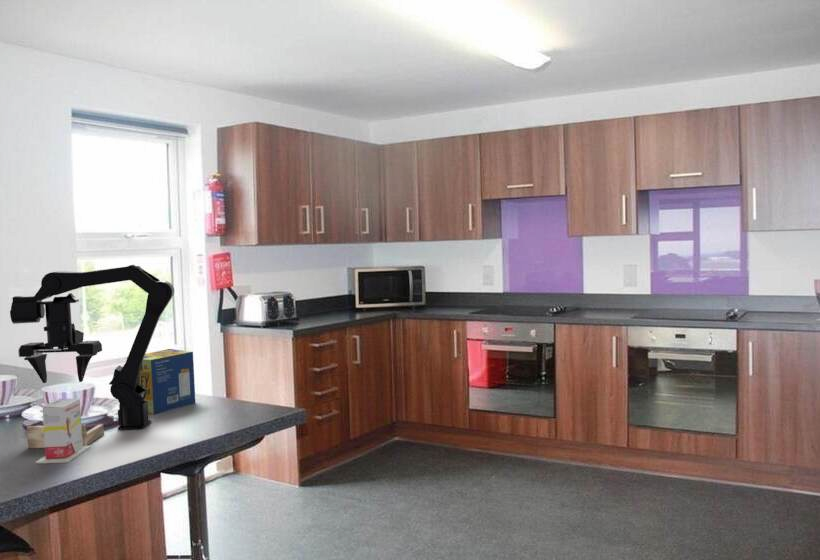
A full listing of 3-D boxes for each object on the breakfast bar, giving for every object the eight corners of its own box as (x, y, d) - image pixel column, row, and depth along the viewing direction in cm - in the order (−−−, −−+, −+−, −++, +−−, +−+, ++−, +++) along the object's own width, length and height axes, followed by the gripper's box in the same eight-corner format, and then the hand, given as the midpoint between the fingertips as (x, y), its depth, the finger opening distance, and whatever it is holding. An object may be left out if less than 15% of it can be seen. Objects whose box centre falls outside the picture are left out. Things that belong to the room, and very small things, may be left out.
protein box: (129, 410, 201) (125, 357, 199) (172, 399, 214) (170, 348, 213) (153, 414, 195) (150, 359, 194) (196, 402, 208) (193, 350, 207)
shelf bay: (103, 434, 177) (102, 414, 177) (85, 446, 167) (83, 425, 166) (50, 435, 177) (48, 416, 177) (28, 448, 167) (26, 427, 167)
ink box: (66, 458, 156) (63, 406, 156) (44, 459, 156) (40, 407, 156) (84, 447, 165) (81, 397, 164) (63, 447, 165) (59, 398, 164)
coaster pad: (90, 447, 166) (90, 445, 166) (67, 462, 155) (67, 460, 155) (61, 448, 166) (61, 446, 166) (36, 463, 155) (35, 461, 155)
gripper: (109, 316, 186) (113, 374, 187) (39, 318, 186) (43, 376, 187) (90, 321, 174) (94, 383, 175) (15, 324, 175) (19, 386, 176)
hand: (62, 382), depth 179 cm, fingers open, 9 cm apart
